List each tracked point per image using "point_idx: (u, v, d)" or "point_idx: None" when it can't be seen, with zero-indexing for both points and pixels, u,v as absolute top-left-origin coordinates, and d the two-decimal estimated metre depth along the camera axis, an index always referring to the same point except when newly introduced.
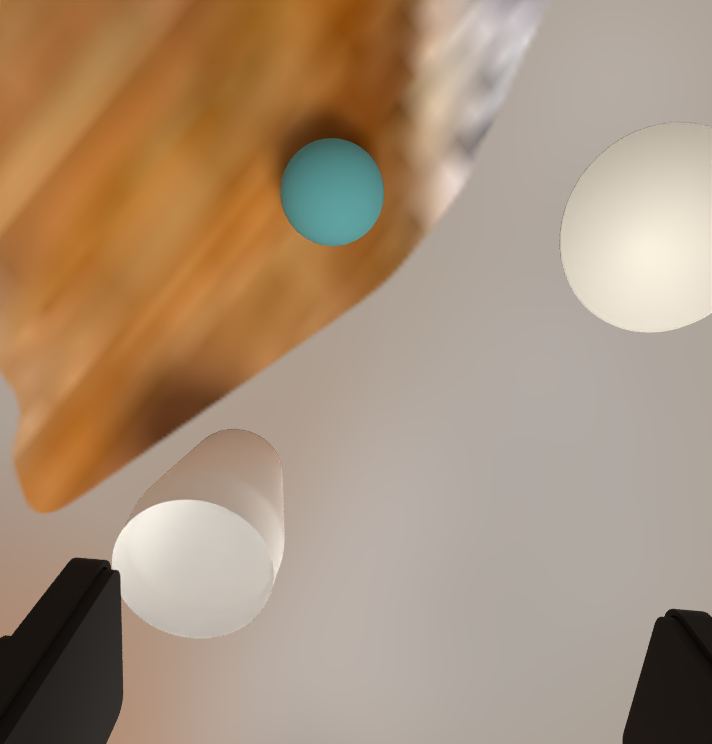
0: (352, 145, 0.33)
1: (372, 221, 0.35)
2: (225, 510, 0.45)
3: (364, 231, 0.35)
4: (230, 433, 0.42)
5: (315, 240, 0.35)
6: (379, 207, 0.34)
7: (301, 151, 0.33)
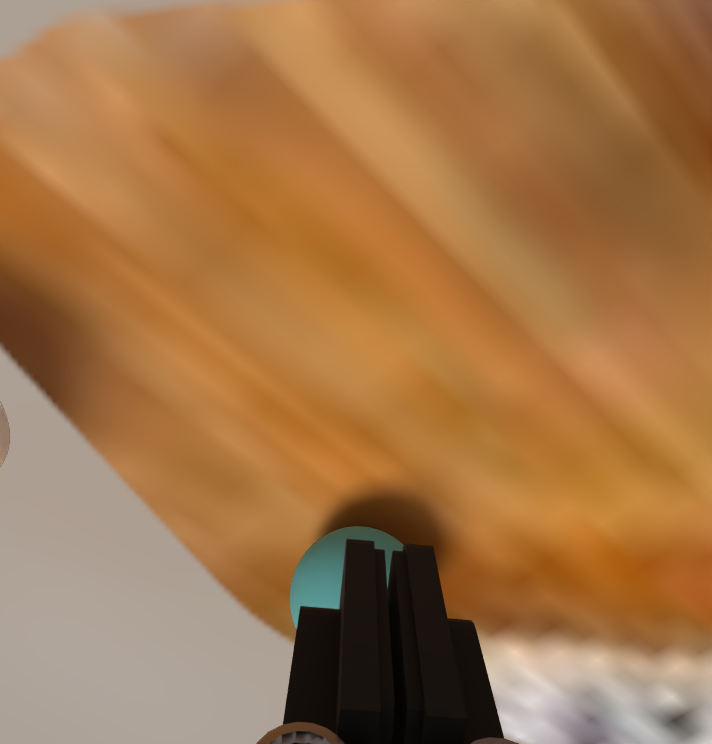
0: None
1: None
2: None
3: None
4: None
5: (295, 594, 0.26)
6: None
7: None
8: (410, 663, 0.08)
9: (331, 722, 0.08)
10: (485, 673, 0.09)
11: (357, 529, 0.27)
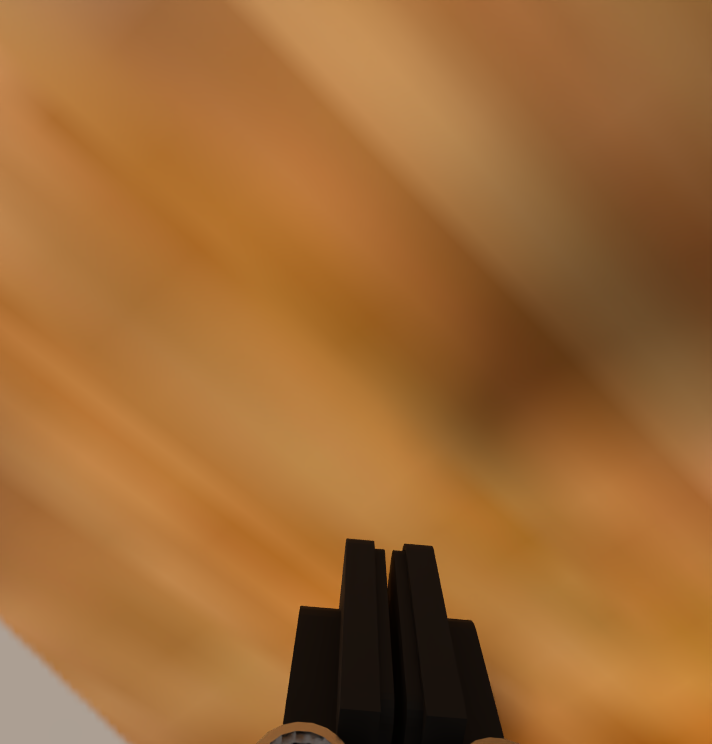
0: None
1: None
2: None
3: None
4: None
5: None
6: None
7: None
8: (410, 663, 0.08)
9: (331, 722, 0.08)
10: (485, 673, 0.09)
11: None
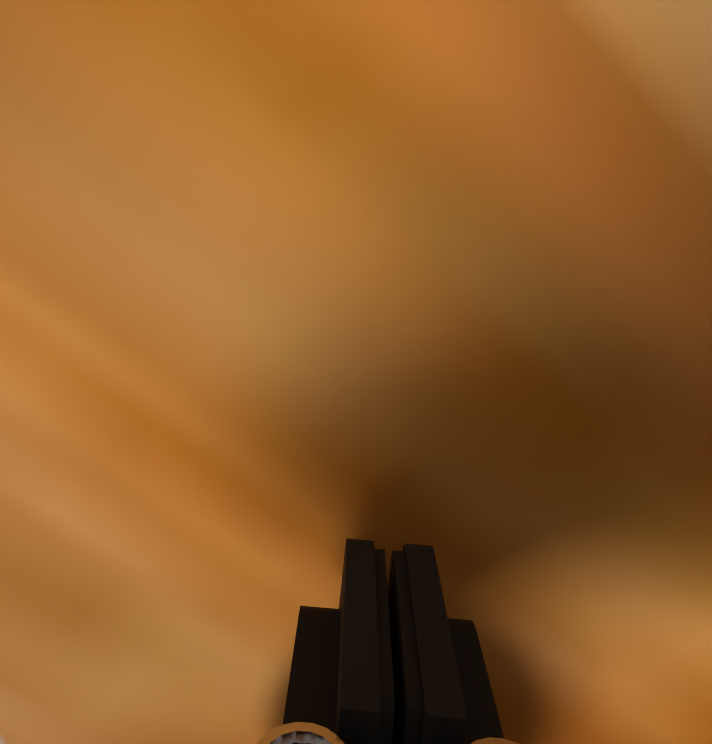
0: None
1: None
2: None
3: None
4: None
5: None
6: None
7: None
8: (410, 663, 0.08)
9: (331, 722, 0.08)
10: (485, 673, 0.09)
11: None
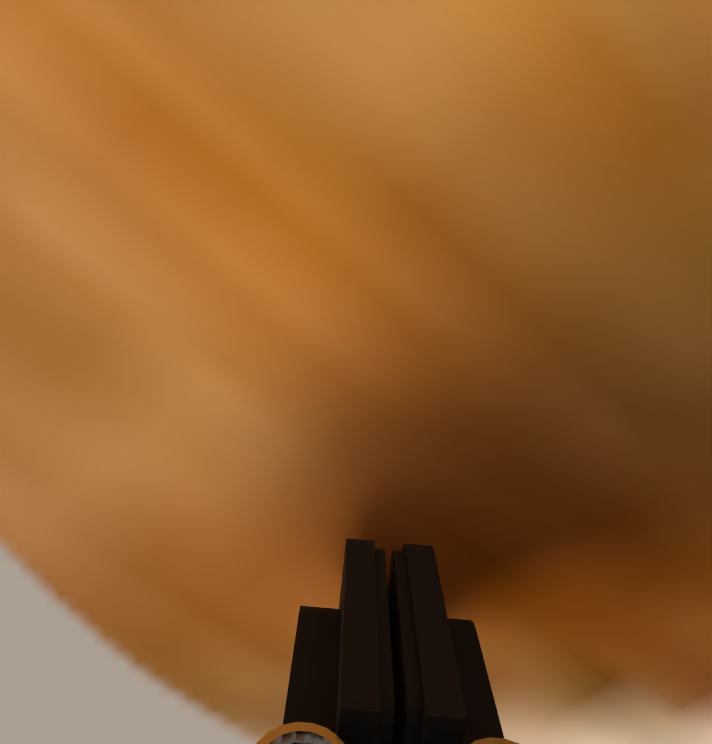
0: None
1: None
2: None
3: None
4: None
5: None
6: None
7: None
8: (410, 663, 0.08)
9: (331, 722, 0.08)
10: (485, 673, 0.09)
11: None
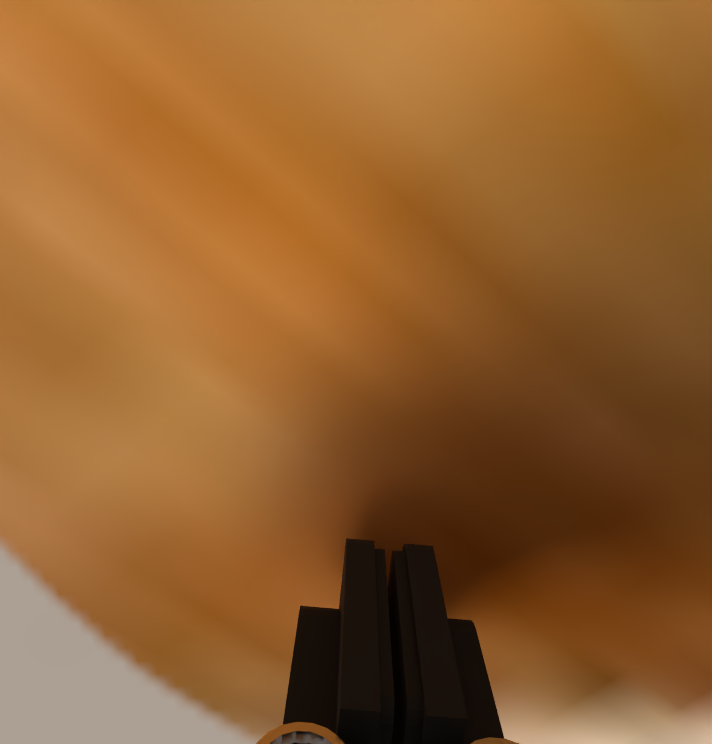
0: None
1: None
2: None
3: None
4: None
5: None
6: None
7: None
8: (410, 663, 0.08)
9: (331, 722, 0.08)
10: (485, 673, 0.09)
11: None
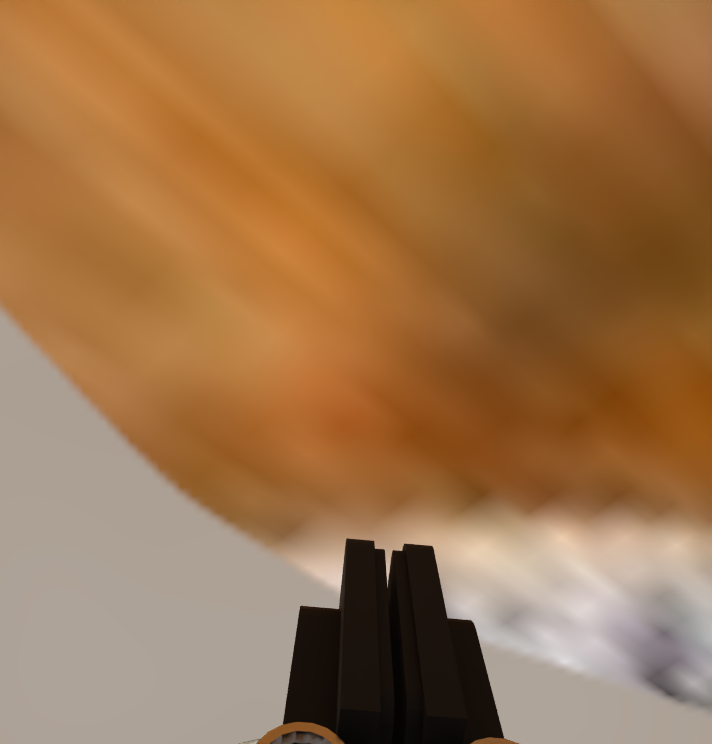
0: None
1: None
2: None
3: None
4: None
5: None
6: None
7: None
8: (410, 663, 0.08)
9: (331, 722, 0.08)
10: (485, 673, 0.09)
11: None
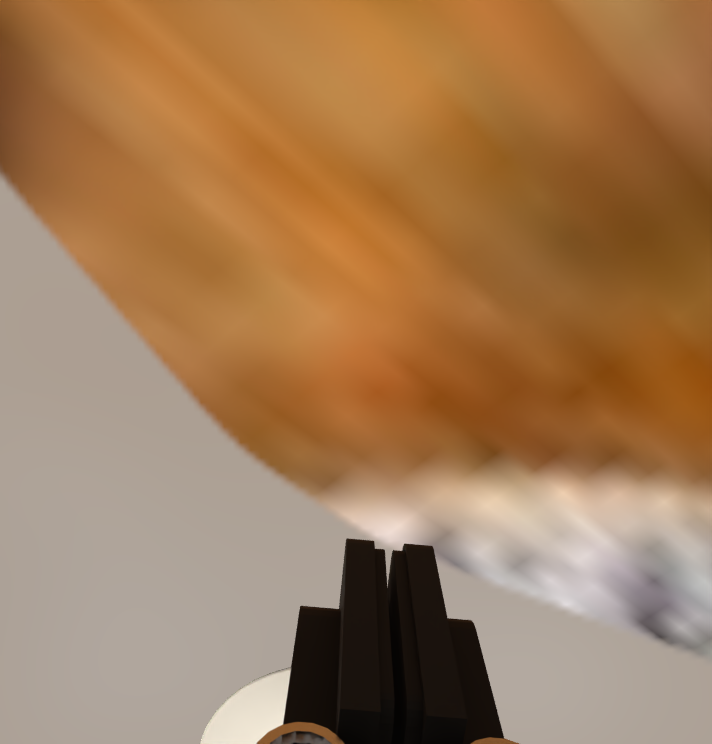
0: None
1: None
2: None
3: None
4: None
5: None
6: None
7: None
8: (410, 663, 0.08)
9: (331, 722, 0.08)
10: (485, 673, 0.09)
11: None
